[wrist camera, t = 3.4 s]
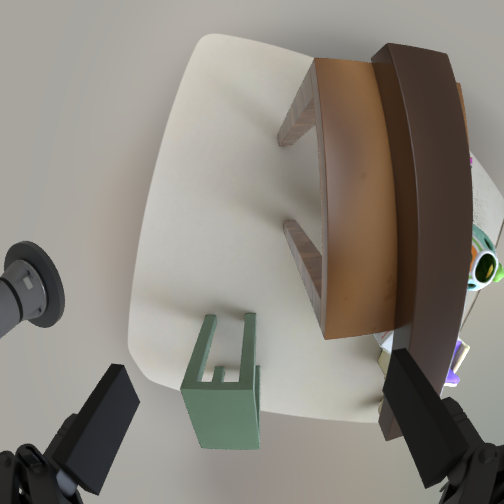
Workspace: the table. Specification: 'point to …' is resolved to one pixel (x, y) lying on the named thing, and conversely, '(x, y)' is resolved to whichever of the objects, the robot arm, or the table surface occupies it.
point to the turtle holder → (483, 261)
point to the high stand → (348, 199)
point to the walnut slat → (427, 207)
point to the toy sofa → (456, 361)
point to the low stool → (224, 394)
